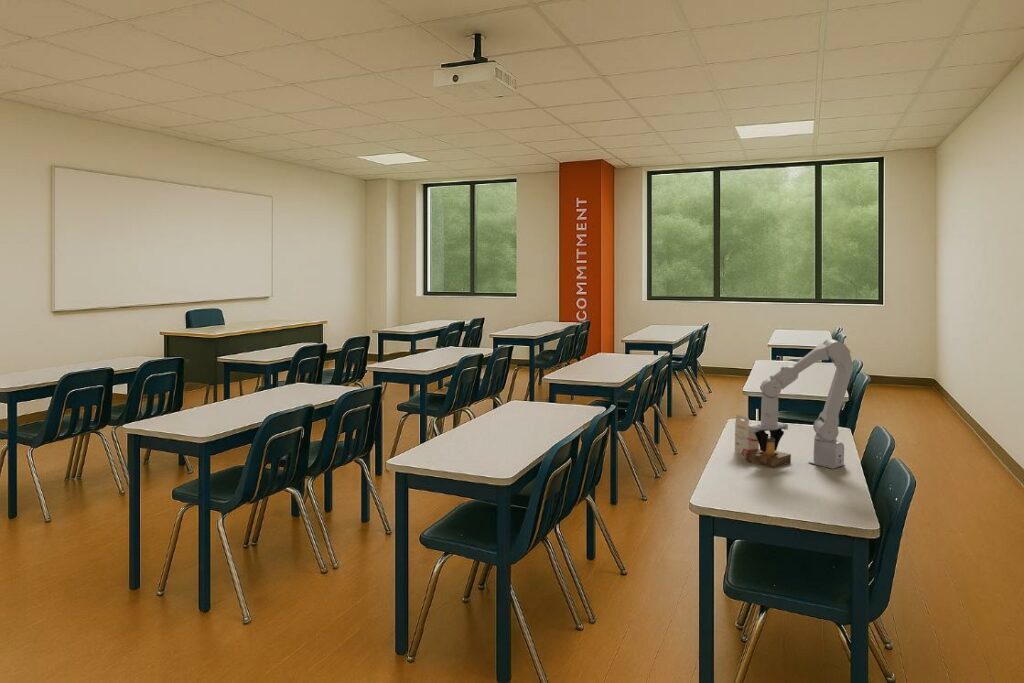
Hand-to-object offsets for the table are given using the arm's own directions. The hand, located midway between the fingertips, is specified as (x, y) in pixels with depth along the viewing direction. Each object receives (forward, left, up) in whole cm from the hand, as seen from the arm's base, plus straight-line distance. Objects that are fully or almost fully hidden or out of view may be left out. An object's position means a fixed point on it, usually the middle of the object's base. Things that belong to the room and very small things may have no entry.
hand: (768, 450), depth 256 cm
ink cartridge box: (+11, -3, -4) cm, 12 cm away
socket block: (0, 0, -4) cm, 4 cm away
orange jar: (0, 0, -3) cm, 3 cm away
